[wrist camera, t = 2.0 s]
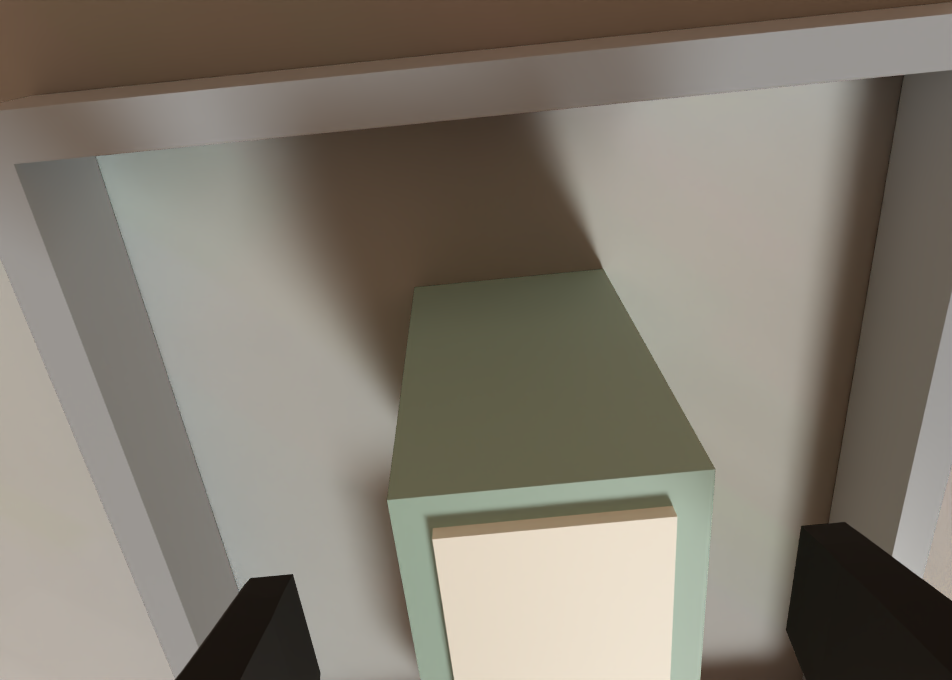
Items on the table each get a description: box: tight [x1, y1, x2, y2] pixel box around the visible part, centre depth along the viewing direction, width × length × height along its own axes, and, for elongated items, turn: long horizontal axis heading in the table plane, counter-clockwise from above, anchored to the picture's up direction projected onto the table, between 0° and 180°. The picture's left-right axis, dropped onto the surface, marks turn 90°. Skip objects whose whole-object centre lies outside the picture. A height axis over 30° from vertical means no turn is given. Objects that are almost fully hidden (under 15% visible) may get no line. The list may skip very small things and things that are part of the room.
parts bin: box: [0, 2, 952, 680], centre depth 16 cm, size 17×20×2 cm
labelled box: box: [387, 269, 715, 680], centre depth 13 cm, size 4×5×7 cm
